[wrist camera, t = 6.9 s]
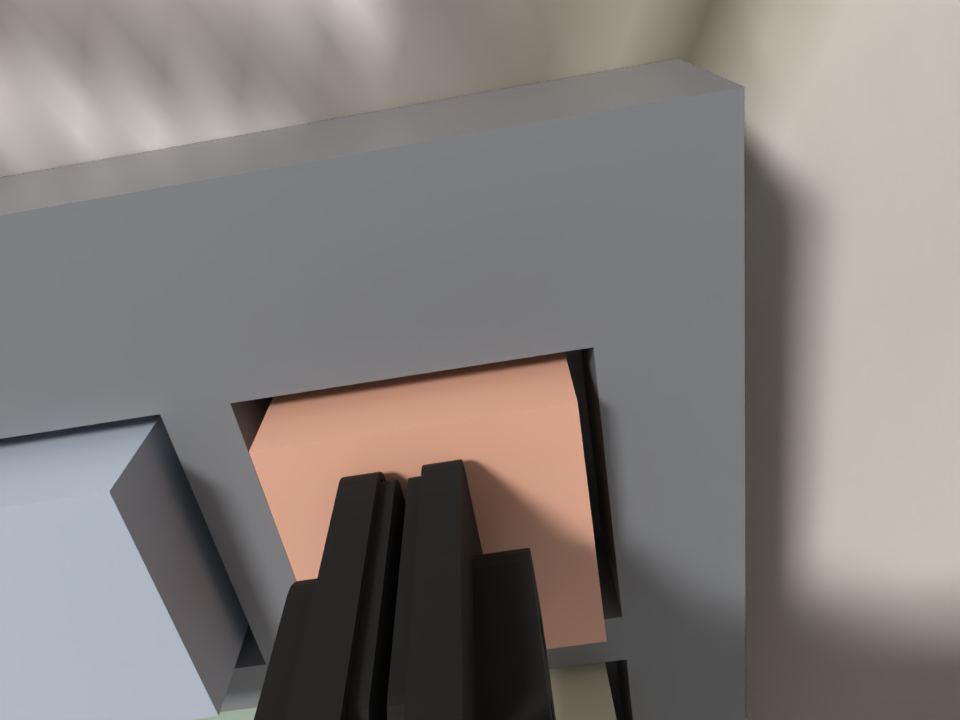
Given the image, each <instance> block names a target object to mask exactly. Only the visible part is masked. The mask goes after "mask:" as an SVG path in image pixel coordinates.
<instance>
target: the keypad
mask: <svg viewBox="0 0 960 720" xmlns="http://www.w3.org/2000/svg"><path fill="white" fill-rule="evenodd" d="M560 352H565V356H566V360H567V364H568V367H569V371H570V375H571V379H572V383H573V387H574V390H575V394H576V398H577V402H578V409H579V418H580V426H581V434H582V442H583V450H584V459H585V467H586V475H587V483H588V492H589V500H590V508H591V516H592V524H593V533H594V541H595V549H596V557H597V566H598V574H599V582H600V590H601V598H602V607H603V615H604V623H605V631H606V639H607V641H606V642H598V643H590V644H583V645H575V646H568V647H560V648H552V649H547V657H548V664H549V669H557V668H564V667H572V666H580V665H588V664H595V663H603V662H605V665H606V670H607V674H608V679H609V684H610V689H611V694H612V699H613V704H614V709H615V714H616V719H617V720H746V642H745V176H744V87H743V86H741V85H739V84H736V83H734V82H732V81H729V80H727V79H725V78H722V77H720V76H718V75H715V74H713V73H711V72H708V71H706V70H704V69H701V68H699V67H697V66H694V65H692V64H690V63H687V62H685V61H683V60H680V59H672V60H667V61H661V62H655V63H649V64H644V65H638V66H632V67H627V68H621V69H615V70H610V71H604V72H598V73H593V74H587V75H581V76H575V77H570V78H564V79H558V80H553V81H547V82H541V83H536V84H530V85H524V86H519V87H513V88H507V89H501V90H496V91H490V92H484V93H479V94H473V95H467V96H462V97H456V98H450V99H445V100H439V101H433V102H428V103H422V104H416V105H410V106H405V107H399V108H393V109H388V110H382V111H376V112H371V113H365V114H359V115H354V116H348V117H342V118H336V119H331V120H325V121H319V122H314V123H308V124H302V125H297V126H291V127H285V128H280V129H274V130H268V131H262V132H257V133H251V134H245V135H240V136H234V137H228V138H223V139H217V140H211V141H206V142H200V143H194V144H189V145H183V146H177V147H171V148H166V149H160V150H154V151H149V152H143V153H137V154H132V155H126V156H120V157H115V158H109V159H103V160H97V161H92V162H86V163H80V164H75V165H69V166H63V167H58V168H52V169H46V170H41V171H35V172H29V173H23V174H18V175H12V176H6V177H1V178H0V439H3V438H9V437H16V436H22V435H29V434H35V433H41V432H48V431H54V430H61V429H67V428H74V427H80V426H87V425H93V424H100V423H106V422H113V421H119V420H126V419H132V418H139V417H145V416H152V415H158V414H160V415H161V418H162V420H163V422H164V425H165V427H166V429H167V432H168V434H169V437H170V439H171V441H172V444H173V446H174V448H175V451H176V453H177V455H178V458H179V460H180V462H181V465H182V467H183V470H184V472H185V474H186V477H187V479H188V481H189V484H190V486H191V488H192V491H193V493H194V496H195V498H196V500H197V503H198V505H199V507H200V510H201V512H202V514H203V517H204V519H205V522H206V524H207V526H208V529H209V531H210V533H211V536H212V538H213V540H214V543H215V545H216V547H217V550H218V552H219V555H220V557H221V559H222V562H223V564H224V566H225V569H226V571H227V573H228V576H229V578H230V581H231V583H232V585H233V588H234V590H235V592H236V595H237V597H238V599H239V602H240V604H241V606H242V609H243V611H244V614H245V616H246V618H247V621H248V623H249V625H248V628H247V631H246V634H245V637H244V640H243V643H242V646H241V650H240V653H239V656H238V659H237V662H236V665H235V668H234V671H233V674H232V677H231V680H230V683H229V686H228V689H227V692H226V695H225V698H224V701H223V704H222V708H221V711H220V712H225V711H233V710H241V709H248V708H256V707H257V706H258V702H259V698H260V695H261V691H262V687H263V683H264V680H265V676H266V672H267V668H268V665H269V661H270V657H271V654H272V650H273V646H274V642H275V639H276V635H277V631H278V627H279V624H280V620H281V616H282V612H283V609H284V605H285V601H286V598H287V594H288V592H289V589H290V587H291V585H292V584H293V583H294V582H295V581H296V578H295V576H294V573H293V570H292V567H291V565H290V562H289V559H288V557H287V554H286V551H285V549H284V546H283V543H282V540H281V538H280V535H279V532H278V530H277V527H276V524H275V521H274V519H273V516H272V513H271V511H270V508H269V505H268V503H267V500H266V497H265V494H264V492H263V489H262V486H261V484H260V481H259V478H258V476H257V473H256V470H255V467H254V465H253V462H252V459H251V457H250V454H249V450H250V448H251V446H252V444H253V441H254V439H255V437H256V435H257V432H258V430H259V428H260V426H261V423H262V421H263V419H264V417H265V414H266V412H267V410H268V408H269V405H270V403H271V401H272V399H273V397H275V396H281V395H288V394H294V393H301V392H307V391H314V390H320V389H326V388H333V387H339V386H346V385H352V384H359V383H365V382H372V381H378V380H385V379H391V378H398V377H404V376H411V375H417V374H424V373H430V372H437V371H443V370H450V369H456V368H462V367H469V366H475V365H482V364H488V363H495V362H501V361H508V360H514V359H521V358H527V357H534V356H540V355H547V354H553V353H560Z"/></svg>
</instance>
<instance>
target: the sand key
mask: <svg viewBox="0 0 960 720" xmlns="http://www.w3.org/2000/svg"><path fill="white" fill-rule="evenodd" d="M549 672H550V679H551V687H552V695H553V702H554V710H555V718H556V720H617V719H616V714H615V709H614V704H613V699H612V694H611V689H610V684H609V679H608V674H607V670H606V665H605V662H603V663H595V664H588V665H580V666H572V667H564V668H557V669H549Z"/></svg>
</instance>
